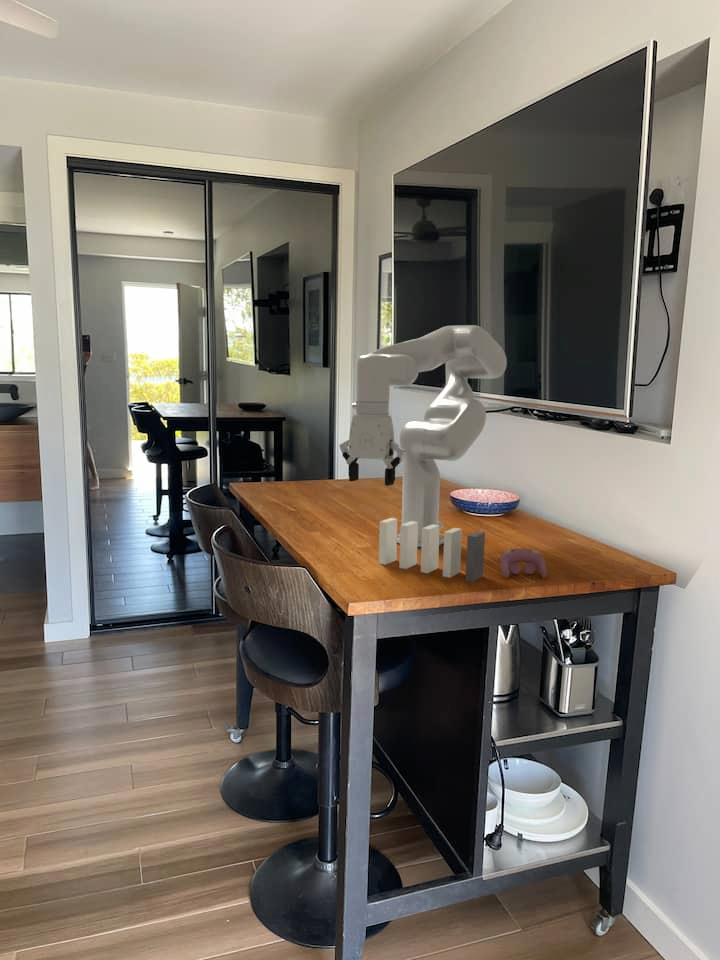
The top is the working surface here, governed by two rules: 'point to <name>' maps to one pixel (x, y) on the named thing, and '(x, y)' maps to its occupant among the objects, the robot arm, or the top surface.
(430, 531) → the domino
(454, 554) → the domino
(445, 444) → the robot arm
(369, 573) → the top surface
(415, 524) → the domino
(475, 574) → the domino
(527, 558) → the video game controller
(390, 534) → the domino
